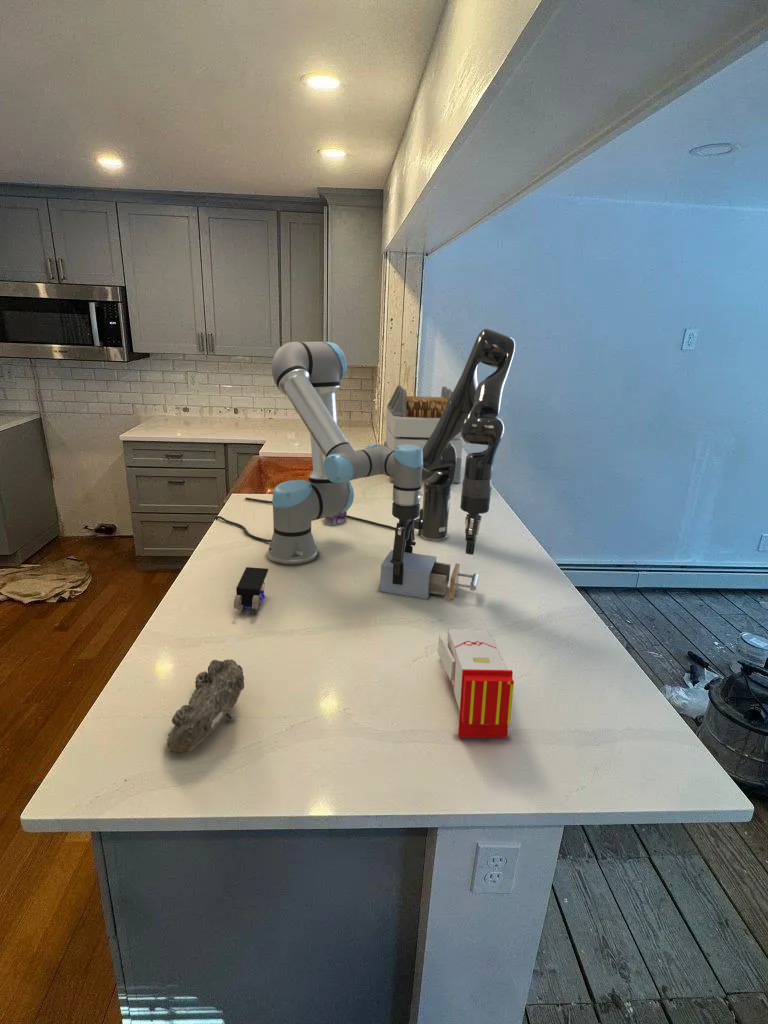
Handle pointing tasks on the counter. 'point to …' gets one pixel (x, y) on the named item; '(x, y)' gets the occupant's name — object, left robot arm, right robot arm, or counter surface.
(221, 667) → the fossil
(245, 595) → the black wheeled rover
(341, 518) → the figurine
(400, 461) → the left robot arm
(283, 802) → the counter surface
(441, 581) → the drawer
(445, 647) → the toy
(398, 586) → the cabinet
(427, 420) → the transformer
